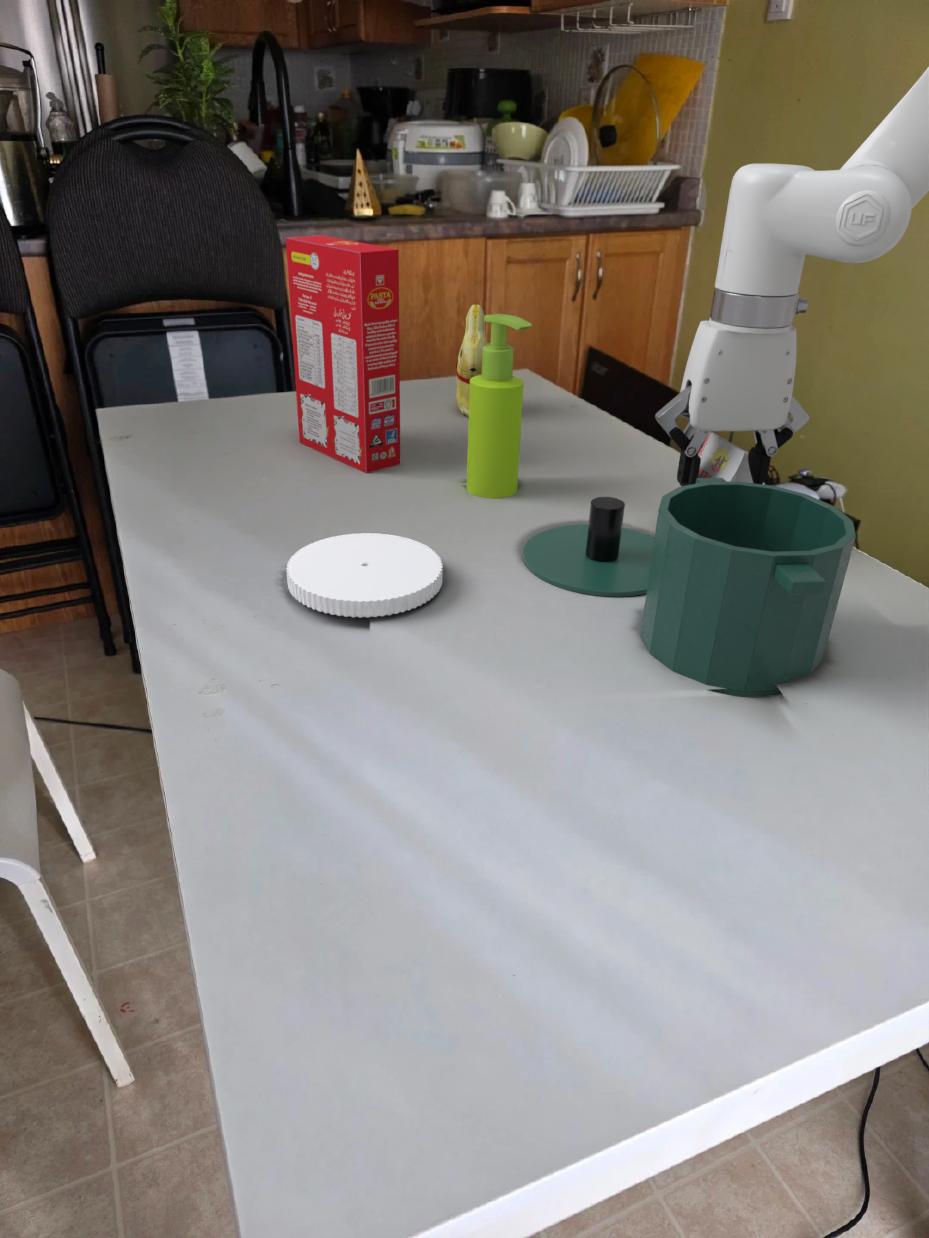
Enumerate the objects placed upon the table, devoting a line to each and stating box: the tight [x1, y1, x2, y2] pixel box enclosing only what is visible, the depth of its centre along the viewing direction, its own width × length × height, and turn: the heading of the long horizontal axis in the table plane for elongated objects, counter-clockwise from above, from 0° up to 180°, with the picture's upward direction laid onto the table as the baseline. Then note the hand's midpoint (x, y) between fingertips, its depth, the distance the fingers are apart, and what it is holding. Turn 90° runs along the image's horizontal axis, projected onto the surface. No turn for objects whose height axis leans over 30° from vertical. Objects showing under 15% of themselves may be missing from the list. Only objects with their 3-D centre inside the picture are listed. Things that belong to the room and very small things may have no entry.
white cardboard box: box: [697, 431, 753, 483], centre depth 92 cm, size 4×7×10 cm, turn 18°
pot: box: [639, 478, 857, 698], centre depth 71 cm, size 14×20×12 cm
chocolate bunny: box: [455, 304, 488, 418], centre depth 128 cm, size 7×11×15 cm, turn 178°
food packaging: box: [285, 234, 401, 474], centre depth 107 cm, size 15×5×25 cm, turn 42°
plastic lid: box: [285, 532, 444, 618], centre depth 80 cm, size 14×14×2 cm
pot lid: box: [522, 496, 655, 598], centre depth 85 cm, size 15×15×7 cm
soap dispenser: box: [466, 313, 533, 499], centre depth 97 cm, size 6×7×20 cm
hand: (719, 487), depth 92 cm, fingers open, 6 cm apart
